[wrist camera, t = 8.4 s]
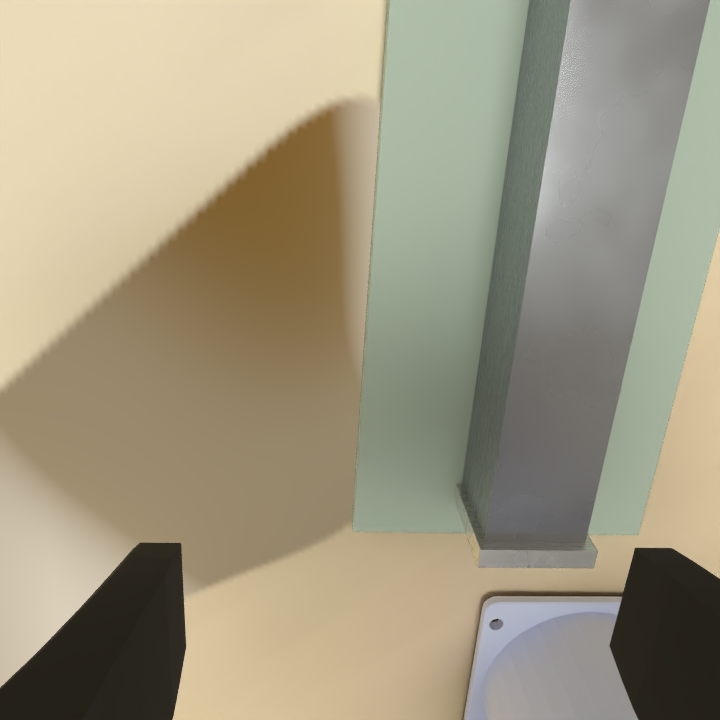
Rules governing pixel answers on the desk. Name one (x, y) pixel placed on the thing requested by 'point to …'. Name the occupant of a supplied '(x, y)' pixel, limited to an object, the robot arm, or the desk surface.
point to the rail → (571, 267)
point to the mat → (474, 264)
